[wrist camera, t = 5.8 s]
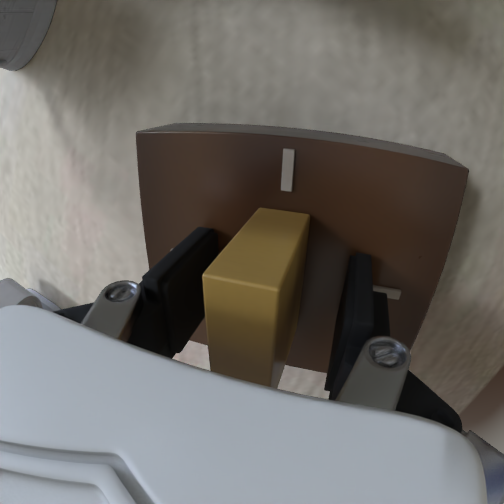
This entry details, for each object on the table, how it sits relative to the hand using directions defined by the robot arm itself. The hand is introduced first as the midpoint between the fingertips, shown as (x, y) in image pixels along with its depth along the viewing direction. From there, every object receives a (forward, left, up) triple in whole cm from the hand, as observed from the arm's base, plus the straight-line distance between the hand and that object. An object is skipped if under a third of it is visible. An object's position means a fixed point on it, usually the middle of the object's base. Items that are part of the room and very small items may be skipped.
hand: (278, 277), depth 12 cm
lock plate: (0, 0, -3) cm, 3 cm away
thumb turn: (0, 0, 0) cm, 0 cm away
